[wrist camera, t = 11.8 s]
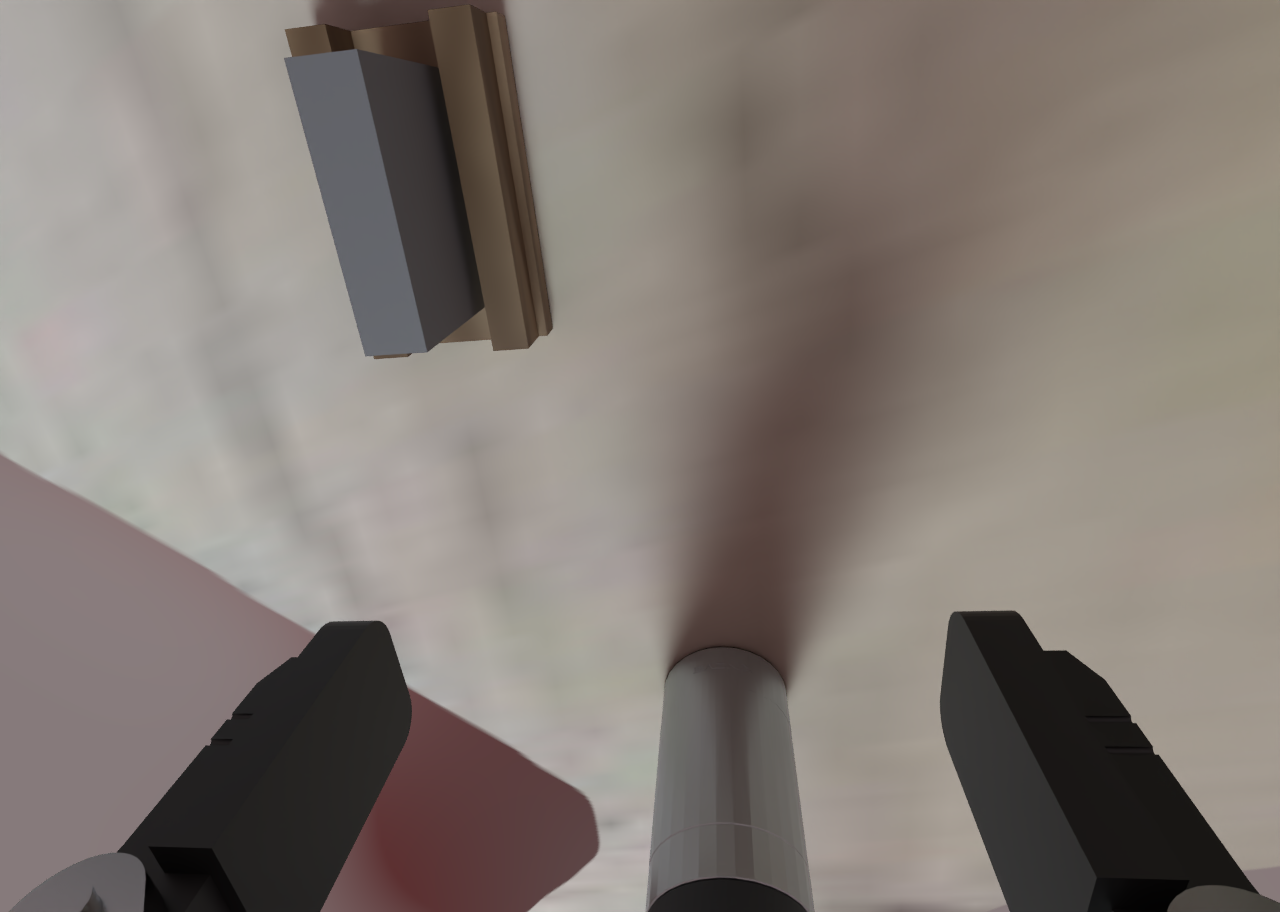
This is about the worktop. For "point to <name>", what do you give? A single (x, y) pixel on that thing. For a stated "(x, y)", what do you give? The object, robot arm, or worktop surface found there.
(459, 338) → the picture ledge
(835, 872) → the worktop surface
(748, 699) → the robot arm
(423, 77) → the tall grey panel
